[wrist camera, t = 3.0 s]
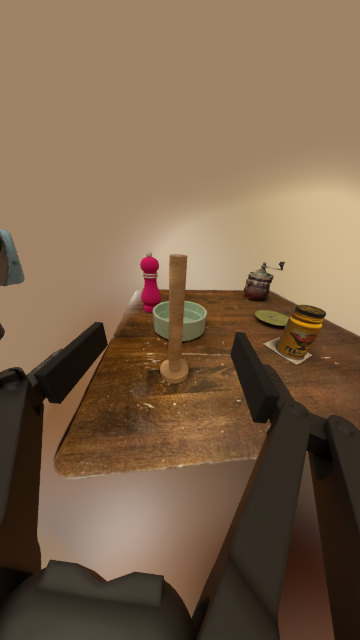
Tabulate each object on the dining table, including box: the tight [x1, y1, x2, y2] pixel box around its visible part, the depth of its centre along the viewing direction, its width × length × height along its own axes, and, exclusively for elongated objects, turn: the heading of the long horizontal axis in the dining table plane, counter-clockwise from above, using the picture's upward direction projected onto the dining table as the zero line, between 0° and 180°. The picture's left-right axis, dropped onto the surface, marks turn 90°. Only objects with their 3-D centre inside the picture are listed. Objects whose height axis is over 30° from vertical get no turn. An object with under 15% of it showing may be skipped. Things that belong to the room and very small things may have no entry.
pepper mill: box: [140, 252, 161, 312], centre depth 53 cm, size 7×7×20 cm
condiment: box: [264, 305, 326, 365], centre depth 36 cm, size 7×8×12 cm
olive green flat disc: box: [255, 310, 289, 326], centre depth 52 cm, size 11×11×2 cm
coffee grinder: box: [244, 262, 285, 301], centre depth 68 cm, size 13×15×18 cm
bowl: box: [153, 301, 207, 341], centre depth 45 cm, size 15×15×6 cm
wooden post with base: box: [160, 254, 188, 383], centre depth 25 cm, size 6×6×22 cm
